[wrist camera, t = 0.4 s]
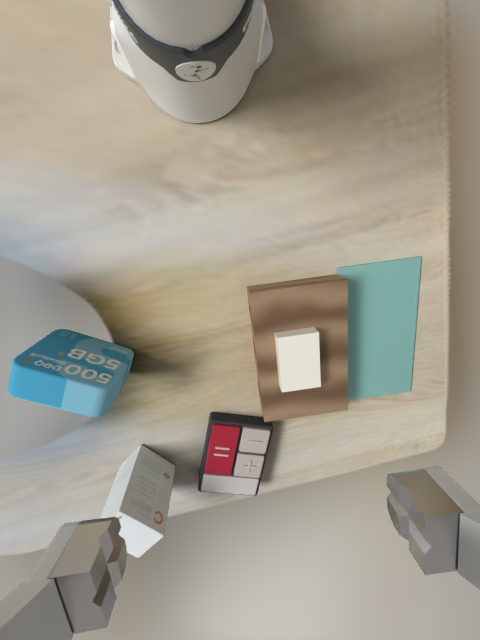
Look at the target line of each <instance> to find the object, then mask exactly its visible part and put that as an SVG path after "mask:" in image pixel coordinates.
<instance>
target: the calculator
mask: <svg viewBox="0 0 480 640" xmlns="http://www.w3.org/2000/svg"><path fill="white" fill-rule="evenodd" d="M272 430H273V427H272V423H271V421H269V422H264V418H263V417H255V416H246V415H238V414H229V413H220V412H211V413H210V417H209V423H208V429H207V434H206V440H205V446H204V451H203V457H202V462H201V468H200V473H199V484H198V490H199V491H202V492H214V493H227V494H240V495H252V496H255V495H257V493H258V489H259V485H260V480H261V476H262V472H263V468H264V464H265V460H266V455H267V451H268V447H269V443H270V439H271V435H272Z"/></svg>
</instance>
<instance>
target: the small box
mask: <svg viewBox="0 0 480 640" xmlns="http://www.w3.org/2000/svg"><path fill="white" fill-rule="evenodd" d="M174 473H175V465H173V464H172V463H170V462H168V461H167V460H165V459H164V458H162V457H161V456H159V455H157V454H156V453H154V452H153V451H151V450H149V449H148V448H146V447H145V446H143V445H140V446H139V447H138V448H137V449H136V450H135V451H134V452H133V453H132V454H131V455H130V456H129V457H128V458H127V459H126V460H125V461H124V462H123V463H122V464H121V466H120V468H119V471H118V473H117V476H116V478H115V481H114V484H113V486H112V489H111V491H110V494H109V497H108V499H107V502H106V505H105V507H104V510H103V513H102V515H101V518H109V517H118V518H119V521H120V524H121V529H120V532H119V535H120V536H121V537H122V538H124V539H125V543H126V549H127V553H129V554H131V555H133V556H135V557H137V558H139V557H140V556H141V555H142V554H143V553H145V552H146V551H147V550H148V549H149V548H150V547H151V546H153V545H154V544H155V543H156V542H157V541H159V540H160V539H161V538H162V537H164V533H165V526H166V520H167V514H168V509H169V503H170V496H171V491H172V485H173V479H174ZM101 518H100V519H101Z"/></svg>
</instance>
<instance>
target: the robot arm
mask: <svg viewBox="0 0 480 640" xmlns="http://www.w3.org/2000/svg"><path fill="white" fill-rule="evenodd" d="M105 2H106V4H107V6H110V16H111V22H110V26H111V35H112V54H113V61H114V63H115V66H116V68H117V69H118V71H119V72H120V73H121V74H123V75H124V76H126V77H127V78H129V79H130V80H132V81H134V82H136V83H137V84H139V85H140V86H141V87H142V88H143V89H144V90H145V92H146V93H147V94H148V95H149V97H150V98H151V99H152V100H153V101H154V103H155V104H156V105H157V106H158V107H160V108H161V109H162V110H163V111H164V112H166V113H167V114H169V115H171V116H172V117H174V118H176V119H179V120H182V121H185V122H190V123H206V122H210V121H214V120H216V119H219V118H221V117H223V116H224V115H226V114H227V113H229V112H230V111H231V110H232V109H233V108H234V107H235V106H236V105H237V104H238V103H239V101H240V100H241V99H242V97H243V95H244V94H245V92H246V90H247V88H248V85H249V83H250V81H251V78H252V76H253V74H254V72H255V71H256V70H257V69H258V68H259V67H260V66H261V65H262V64H263V63H264V62H265V61H266V59H267V58H268V57H269V56H270V54H271V52H272V48H273V37H272V32H271V28H270V24H269V19H268V15H267V11H266V6H265V2H264V0H105ZM387 487H388V488H389V489H390V491H391V493H390V494H389V496H388V497H387V507H388V511H389V514H390V518H391V520H392V522H393V524H394V526H395V528H396V530H397V531H398V533H399V534H400V535H401V536H402V537H404V538H405V539H407V540H408V541H409V550H410V552H411V554H412V555H413V557H414V558H415V560H416V562H417V563H418V564H419V566H420V568H421V569H422V571H423V572H424V574H425V575H428V574H435V573H442V572H450V571H458V573H459V574H460V575H461V576H462V577H464V578H465V579H466V580H468V581H469V582H470V583H472V584H473V585H474V586H476V587H477V588H478V589H480V504H478V503H477V501H476V500H474V499H473V498H472V497H471V496H470V495H469V494H468V493H467V492H466V491H465V490H464V489H463V488H462V487H461V486H460V485H459V484H458V483H457V482H456V481H455V480H454V479H453V478H451V476H449V474H447V473H446V472H445V471H444V470H443V469H442V468H441V467H439V466H433V467H427V468H422V469H416V470H410V471H404V472H398V473H392V474H388V476H387ZM120 529H121V524H120V521H119V518H118V517H109V518H101V519H93V520H85V521H81V522H73V523H65V524H64V525H63V526H61V527H60V528H59V530H58V531H57V533H56V535H55V536H54V538H53V540H52V541H51V543H50V545H49V546H48V548H47V550H46V552H45V553H44V555H43V556H42V558H41V560H40V561H39V563H38V565H37V566H36V568H35V570H34V571H33V573H32V574H31V576H30V578H29V580H28V581H27V583H23V584H20V585H19V586H18V587H17V588H15V589H14V590H13V591H12V592H11V593H10V594H9V595H7V596H6V597H5V598H4V599H3V600H2V601H0V640H71V639H72V637H73V634H76V633H80V632H86V631H91V630H96V629H101V628H106V627H107V626H108V623H109V619H110V616H111V613H112V610H113V607H114V604H115V600H116V594H115V591H114V588H115V587H116V586H117V585H118V583H119V582H120V581H121V580H122V578H123V574H124V571H125V567H126V558H127V549H126V543H125V539H124V538H122V537H121V536H120V535H119V532H120Z"/></svg>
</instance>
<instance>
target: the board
mask: <svg viewBox="0 0 480 640" xmlns="http://www.w3.org/2000/svg"><path fill="white" fill-rule="evenodd" d="M247 292H248V301H249V309H250V318H251V326H252V335H253V343H254V352H255V360H256V369H257V377H258V386H259V394H260V403H261V409H262V414H263V418H264V422H269V421H276V420H283V419H289V418H296V417H303V416H310V415H316V414H323V413H330V412H337V411H343V410H348V279H346V278H344V277H342V276H339V275H337V274H336V275H329V276H321V277H314V278H307V279H299V280H292V281H285V282H278V283H270V284H263V285H256V286H248V287H247ZM312 327H315V328H316V329H317V330H318V332H319V348H320V375H321V387H317V388H310V389H303V390H296V391H289V392H281V389H280V386H279V377H278V366H277V355H276V344H275V333H277V332H284V331H291V330H298V329H305V328H312Z"/></svg>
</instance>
